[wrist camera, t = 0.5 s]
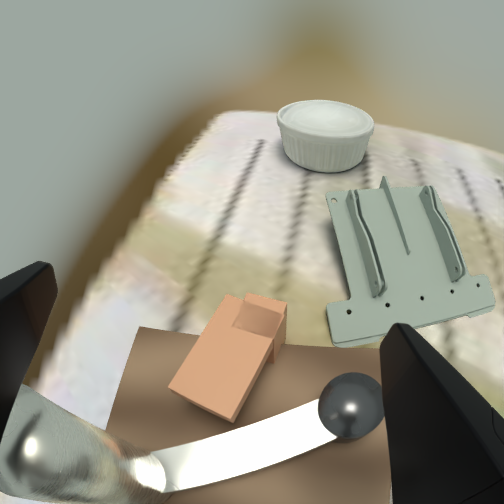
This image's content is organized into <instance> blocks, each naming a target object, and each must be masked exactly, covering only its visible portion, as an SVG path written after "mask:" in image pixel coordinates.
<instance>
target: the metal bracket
mask: <svg viewBox="0 0 504 504" xmlns="http://www.w3.org/2000/svg"><path fill="white" fill-rule="evenodd" d="M332 199H335V200H336V201H337V203H332V202H331V200H332ZM326 200H327V204H328V207H329V211H330V214H331V218H332V222H333V225H334V229H335V233H336V237H337V241H338V244H339V248H340V252H341V256H342V261H343V265H344V269H345V273H346V277H347V282H348V286H349V290H350V295H351V298H350V299H349V300H346V301H339V302H333V303H329V304H328V305H327V306H326V312H327V317H328V323H329V328H330V334H331V339H332V343H333V345H334V346H336V347H340V348H347V347H352V346H357V345H363V344H368V343H372V342H377V341H379V339H380V337H382V336H386V334H387V333H388V331H389V329H390V328H391V326H392V325H393V324H394V323H397V322H398V323H407V324H409V325H410V326H411V327H412V328H414V329H416V328H420V327H424V326H428V325H432V324H436V323H440V322H444V321H447V320H451V319H455V318H458V317H462V316H469V318H472V317H475V316H478V315H482V314H485V313H488V312H491V311H492V310H493V309H494V307H495V298H494V295H493V291H492V288H491V285H490V282H489V279H488V276H486V275H484V274H481V275H477V276H470V274H469V272H468V269H467V266H466V263H465V261H464V258H463V255H462V252H461V249H460V247H459V244H458V241H457V239H456V236H455V234H454V231H453V229H452V226H451V224H450V221H449V219H448V217H447V214H446V212H445V210H444V207H443V205H442V203H441V200H440V198H439V196H438V194H437V192H436V190H435V188H434V187H433V186H432V185H431V186H418V187H397V188H390V185H389V182H388V180H387V177H386V176H383V177H382V181H381V184H380V188H379V189H364V190H358V189H356V190H349V191H336V192H328V193H327V194H326ZM476 284H478V285H479V287H477V285H476ZM450 290H452V291H453V294H452V293H451V292H450ZM420 297H423V301H422V300H421V299H420ZM386 303H388V304H389V308H388V307H386V306H385V304H386ZM347 310H350V311H351V314H350V315H349V314H347Z"/></svg>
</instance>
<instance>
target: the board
mask: <svg viewBox="0 0 504 504" xmlns="http://www.w3.org/2000/svg"><path fill="white" fill-rule="evenodd" d="M199 337H200V335H192V334H185V333H178V332H171V331H165V330H158V329H152V328H146V327H140V326H139V329H138V332H137V334H136V337H135V340H134V343H133V346H132V348H131V351H130V354H129V357H128V360H127V363H126V366H125V369H124V372H123V375H122V378H121V381H120V384H119V387H118V391H117V394H116V397H115V400H114V403H113V407H112V410H111V413H110V417H109V420H108V423H107V427H106V430H105V431H106V432H108V433H110V434H112V435H115V436H117V437H119V438H121V439H123V440H125V441H128V442H130V443H132V444H134V445H137V446H139V447H142V448H144V449H146V450H149V451H151V452H153V451H158V450H163V449H167V448H171V447H176V446H180V445H184V444H188V443H192V442H195V441H199V440H203V439H206V438H210V437H213V436H217V435H220V434H224V433H227V432H230V431H233V430H236V429H240V428H243V427H246V426H249V425H252V424H255V423H257V422H260V421H263V420H266V419H269V418H272V417H274V416H277V415H280V414H282V413H285V412H287V411H290V410H293V409H295V408H298V407H300V406H303V405H305V404H307V403H310V402H312V401H315V400H317V399H319V398H320V395H321V393H322V391H323V389H324V388H325V386H326V385H327V384H328V383H329V382H330V381H331V380H332V379H333V378H335V377H337V376H339V375H341V374H344V373H350V372H357V373H363V374H366V375H368V376H370V377H372V378H373V379H375V380H376V381H377V382H378V383H379V384H380V385H381V368H380V354H379V350H380V349H373V348H339V347H318V346H302V345H287V344H281V347H280V350H279V352H278V355H277V358H276V360H275V363H274V364H273V363H269V362H265V364H264V366H263V368H262V370H261V372H260V374H259V376H258V378H257V380H256V382H255V383H254V385H253V387H252V389H251V391H250V393H249V395H248V397H247V399H246V400H245V402H244V404H243V406H242V408H241V410H240V412H239V413H238V415H237V417H236V419H235V421H234V423H231V422H229V421H227V420H225V419H223V418H221V417H219V416H217V415H214V414H212V413H210V412H208V411H206V410H204V409H202V408H200V407H198V406H196V405H194V404H193V403H191V402H189V401H187V400H185V399H183V398H181V397H179V396H177V395H176V394H174V393H173V392H172V391H171V390H170V389H169V388H168V386H169V384H170V382H171V381H172V379H173V378H174V376H175V375H176V373H177V371H178V370H179V368H180V367H181V365H182V364H183V362H184V360H185V359H186V357H187V356H188V354H189V353H190V351H191V349H192V348H193V346H194V345H195V343H196V342H197V340H198V338H199ZM381 387H382V386H381ZM390 488H391V470H390V459H389V449H388V440H387V432H386V424H385V416H384V418H383V420H382V422H381V423H380V424H379V425H378V426H377V427H376V428H375V429H374V430H373V431H371V432H370V433H368V434H367V435H366V436H364V437H363V438H361V439H359V440H357V441H355V442H351V443H337V442H331V443H329V444H326V445H324V446H322V447H320V448H317V449H315V450H313V451H310V452H308V453H305V454H303V455H300V456H298V457H295V458H293V459H290V460H288V461H285V462H282V463H280V464H277V465H274V466H271V467H268V468H266V469H263V470H260V471H257V472H253V473H250V474H247V475H244V476H241V477H237V478H234V479H230V480H227V481H223V482H220V483H216V484H212V485H208V486H204V487H200V488H195V489H191V490H186V491H182V492H177V493H172V494H171V496H170V497H169V498H168V499H167V500H166V501H165V502H164V503H162V504H389V501H390Z"/></svg>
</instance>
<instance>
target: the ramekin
mask: <svg viewBox="0 0 504 504" xmlns="http://www.w3.org/2000/svg"><path fill="white" fill-rule="evenodd" d="M277 124H278V126H279V127H280V132H281V137H282V142H283V146H284V150H285V153H286V154H287V156H288V157H289V158H290V159H291V160H292V161H293V162H294V163H296V164H297V165H299V166H301V167H303V168H306V169H309V170H313V171H318V172H341V171H345V170H349V169H351V168H353V167H354V166H356V165H357V164H358V163H359V162H361V160H362V159H363V156H364V154H365V151H366V148H367V145H368V142H369V138H370V136H371V135H372V134H373V130H374V121H373V119H372V118H371V117H370V116H369V115H368V114H367V113H366V112H364V111H363V110H361V109H359V108H356V107H354V106H351V105H348V104H345V103H341V102H336V101H327V100H308V101H300V102H296V103H292V104H289V105H287V106H285V107H283V108H282V109H280V110H279V111H278V113H277Z"/></svg>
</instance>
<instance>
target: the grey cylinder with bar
mask: <svg viewBox="0 0 504 504" xmlns="http://www.w3.org/2000/svg"><path fill="white" fill-rule="evenodd" d="M383 418H384V409H383V401H382V387H381V385H380V384H379V383H378V382H377V381H376V380H375V379H373V378H372V377H370V376H368V375H366V374H363V373H357V372H350V373H344V374H341V375H339V376H337V377H335V378H333V379H332V380H331V381H330V382H329V383H328V384H327V385H326V386H325V388H324V389H323V391H322V393H321V395H320V398H319V399H317V400H315V401H312V402H310V403H307V404H305V405H303V406H300V407H298V408H295V409H293V410H290V411H287V412H285V413H282V414H280V415H277V416H274V417H272V418H269V419H266V420H263V421H260V422H257V423H255V424H252V425H249V426H246V427H243V428H240V429H236V430H233V431H230V432H227V433H224V434H220V435H217V436H213V437H210V438H206V439H203V440H199V441H195V442H192V443H188V444H184V445H180V446H176V447H171V448H167V449H163V450H158V451H153V452H151V451H149V450H146V449H144V448H142V447H139V446H137V445H134V444H132V443H130V442H128V441H125V440H123V439H121V438H119V437H117V436H115V435H112V434H110V433H108V432H106V431H104V430H102V429H100V428H98V427H96V426H94V425H92V424H90V423H88V422H87V421H85V420H83V419H81V418H79V417H77V416H75V415H74V414H72V413H70V412H68V411H67V410H65V409H63V408H61V407H60V406H58V405H56V404H55V403H53V402H51V401H50V400H48V399H47V398H45V397H43V396H42V395H40V394H39V393H37V392H36V391H34V390H33V389H31V388H29V387H28V386H26V385H23V384H21V387H20V389H19V392H18V395H17V397H16V400H15V402H14V405H13V408H12V411H11V413H10V416H9V419H8V422H7V425H6V428H5V431H4V434H3V437H2V440H1V444H0V491H1V492H3V493H5V494H7V495H10V496H14V497H19V498H24V499H29V500H35V501H42V502H49V503H57V504H162V503H164V502H165V501H166V500H167V499H168V498H169V497H170V496H171V494H172V493H177V492H182V491H186V490H191V489H195V488H200V487H204V486H208V485H212V484H216V483H220V482H223V481H227V480H230V479H234V478H237V477H241V476H244V475H247V474H250V473H253V472H257V471H260V470H263V469H266V468H268V467H271V466H274V465H277V464H280V463H282V462H285V461H288V460H290V459H293V458H295V457H298V456H300V455H303V454H305V453H308V452H310V451H313V450H315V449H317V448H320V447H322V446H324V445H326V444H329V443H331V442H337V443H351V442H355V441H357V440H359V439H361V438H363V437H364V436H366V435H367V434H368V433H370V432H371V431H373V430H374V429H375V428H376V427H377V426H378V425H379V424H380V423H381V422H382V420H383Z"/></svg>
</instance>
